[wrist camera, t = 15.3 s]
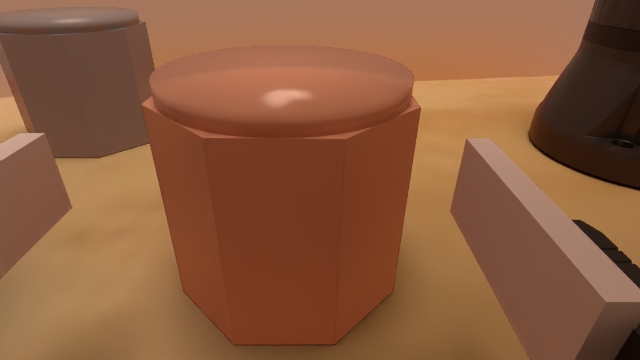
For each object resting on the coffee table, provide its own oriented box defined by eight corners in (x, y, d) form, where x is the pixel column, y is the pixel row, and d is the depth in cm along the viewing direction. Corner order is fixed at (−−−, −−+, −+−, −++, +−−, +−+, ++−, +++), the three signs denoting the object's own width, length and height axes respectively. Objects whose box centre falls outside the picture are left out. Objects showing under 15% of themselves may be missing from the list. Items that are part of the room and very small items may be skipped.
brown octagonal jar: (175, 114, 39) (156, 7, 34) (135, 158, 30) (101, 23, 25) (76, 113, 39) (42, 6, 34) (7, 157, 30) (-53, 21, 25)
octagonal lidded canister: (373, 208, 24) (389, 46, 19) (406, 344, 16) (450, 114, 11) (216, 207, 24) (192, 44, 19) (161, 345, 16) (92, 110, 11)
